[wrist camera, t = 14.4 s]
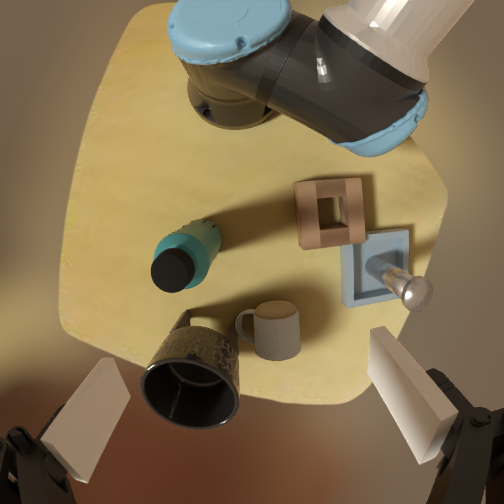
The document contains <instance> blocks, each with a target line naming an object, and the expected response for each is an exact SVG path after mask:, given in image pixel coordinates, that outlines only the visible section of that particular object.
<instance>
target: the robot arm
mask: <svg viewBox="0 0 504 504" xmlns="http://www.w3.org/2000/svg"><path fill="white" fill-rule="evenodd" d="M473 2H474V0H350V1H349V3H347V4H346V5H342V6H337V7H332V8H327V9H326V10H325V11H324V13H323V15H322V17H321V19H320V21H316V20H315V19H312V18H310V17H308V16H305V15H303V14H301V13H299V12H296V11H294V10H291V9H292V7H291V3H290V1H289V0H179V1H178V2H177V4H176V5H175V6H174V8H173V9H172V11H171V13H170V15H169V18H168V23H167V31H168V35H169V38H170V41H171V45H172V50H173V52H174V53H175V55H177V57H178V58H179V59H180V61H181V63H182V65H183V66H184V68H185V70H186V71H187V73H188V75H189V79H188V85H187V90H188V96H189V100H190V102H191V104H192V106H193V108H194V109H195V111H196V112H197V114H198V115H199V116H200V117H201V118H202V119H203V120H205V121H206V122H208V123H209V124H211V125H213V126H216V127H219V128H223V129H229V130H240V129H246V128H250V127H253V126H256V125H258V124H260V123H262V122H263V121H265V120H266V119H268V118H269V117H270V116H271V115H272V114H273V113H274V112H275V110H276V111H278V112H280V113H282V114H284V115H286V116H288V117H290V118H292V119H294V120H296V121H298V122H300V123H301V124H303V125H305V126H307V127H309V128H311V129H313V130H314V131H316V132H318V133H320V134H322V135H323V136H325V137H327V138H328V139H329V141H330V142H332V143H333V144H335V145H338V146H342V147H344V148H346V149H348V150H349V151H351V152H353V153H355V154H357V155H359V156H363V157H376V156H380V155H383V154H385V153H387V152H389V151H391V150H392V149H394V148H395V147H397V146H398V145H400V144H401V143H402V142H403V141H404V140H406V139H407V138H408V137H409V136H410V135H411V134H412V132H413V131H414V130H415V129H416V127H417V121H419V120H420V119H422V118H423V116H424V115H425V112H426V110H427V106H428V94H427V91H426V90H425V87H424V86H425V85H426V83H427V82H428V81H429V80H430V73H429V68H428V63H427V60H428V56H429V54H430V53H431V52H432V51H433V50H434V48H435V47H436V46H437V45H438V43H439V42H440V41H441V40H442V39H443V38H444V36H445V35H446V34H447V33H448V31H449V30H450V29H451V28H452V26H454V24H455V23H456V22H457V21H458V20H459V18H460V17H461V16H462V15H463V14H464V12H465V11H466V10H467V9H468V8H469V6H470V5H471V4H472V3H473ZM367 373H368V375H369V376H370V378H371V380H372V382H373V383H374V385H375V386H376V388H377V390H378V392H379V393H380V395H381V397H382V398H383V400H384V402H385V404H386V405H387V407H388V409H389V411H390V412H391V414H392V416H393V418H394V419H395V421H396V423H397V425H398V426H399V428H400V430H401V432H402V434H403V435H404V437H405V439H406V441H407V443H408V445H409V446H410V448H411V450H412V452H413V454H414V456H415V457H416V459H417V461H418V463H419V464H422V463H424V462H426V461H429V460H431V459H433V458H435V457H436V456H437V454H438V452H439V450H440V449H441V450H442V452H443V453H444V456H443V457H442V459H441V461H440V462H439V464H438V466H437V467H436V468H439V470H438V473H437V476H436V479H435V482H434V485H433V487H432V490H431V493H430V495H429V498H428V500H427V503H426V504H481V501H482V497H483V493H484V489H485V485H486V503H485V504H504V408H502V409H499V410H495V411H492V412H491V411H489V410H488V409H486V408H483V407H476V408H474V407H473V406H472V405H471V403H470V402H469V401H468V400H467V399H466V398H465V397H464V396H463V394H462V393H461V392H460V391H459V390H458V389H457V388H456V387H455V386H454V384H453V383H452V382H451V381H449V379H448V378H447V377H446V376H445V375H444V374H443V373H442V372H440V371H438V370H436V369H434V368H433V369H430V370H428V371H424V370H423V369H422V367H421V366H420V365H419V364H418V363H417V362H416V361H415V359H414V358H413V357H412V356H411V355H410V354H409V353H408V352H407V350H406V349H405V348H404V347H403V346H402V345H401V344H400V343H399V342H398V340H397V339H396V338H395V337H394V336H393V335H392V334H391V333H390V332H389V331H388V329H387V328H386V327H385V326H382V327H378V328H373V329H370V346H369V359H368V370H367ZM130 397H131V396H130V394H129V393H128V390H127V388H126V386H125V384H124V382H123V380H122V377H121V375H120V373H119V370H118V368H117V366H116V364H115V361H114V359H113V358H101V360H100V361H99V362H98V363H97V365H96V366H95V367H94V368H93V370H92V371H91V372H90V373H89V375H88V376H87V377H86V379H85V380H84V381H83V382H82V384H81V385H80V386H79V388H78V389H77V390H76V391H75V393H74V394H73V395H72V397H71V398H70V399H69V401H68V402H67V403H66V404H64V405H62V406H61V407H60V408H58V409H57V410H56V412H55V413H54V414H53V417H51V418H50V420H49V422H47V424H46V425H45V426H44V428H43V429H42V431H41V432H40V433H39V435H38V436H37V437H36V439H35V440H34V439H33V438H32V437H31V435H30V434H29V432H28V431H27V430H26V429H25V428H24V427H22V426H15V427H13V428H11V429H10V430H9V431H8V432H7V434H6V437H5V438H6V440H7V441H8V442H9V443H10V445H11V446H10V445H9V444H8V442H7V441H6V440H5V439H4V438H2V437H0V504H77V503H76V500H75V498H74V495H73V492H72V489H71V485H70V482H69V480H68V478H67V477H66V474H67V472H69V474H70V475H71V476H72V477H73V478H74V479H77V480H79V481H82V482H85V483H88V481H89V479H90V477H91V475H92V473H93V470H94V468H95V466H96V464H97V462H98V460H99V458H100V456H101V454H102V452H103V450H104V448H105V446H106V444H107V442H108V440H109V438H110V436H111V434H112V432H113V430H114V428H115V426H116V424H117V422H118V420H119V418H120V416H121V414H122V412H123V410H124V408H125V406H126V404H127V402H128V401H129V399H130ZM8 474H10V475H11V476H12V477H13V478H14V482H12V481H11V480H10V479H8Z"/></svg>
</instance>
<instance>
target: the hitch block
mask: <svg viewBox="0 0 504 504" xmlns="http://www.w3.org/2000/svg"><path fill="white" fill-rule="evenodd" d="M293 190H294V199H295V208H296V218H297V228H298V239H299V246H300V247H301V248H302V249H303V250H309V249H318V248H326V247H334V246H342V245H350V244H358V243H366V241H365V220H364V205H363V193H362V183H361V178H344V179H328V180H314V181H302V182H295V183H293ZM329 197H339V206H340V219H341V224H338V225H329V226H319V216H318V206H317V199H318V198H329Z"/></svg>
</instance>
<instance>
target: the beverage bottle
mask: <svg viewBox="0 0 504 504" xmlns="http://www.w3.org/2000/svg"><path fill="white" fill-rule="evenodd" d="M191 222H192V221H191ZM178 229H179V228H178ZM220 231H221V230H219V229H218V227H217V226H216V224H214V223H212V222H211V221H208V220H204V219H202V220H201V219H200V220H197V219H196V220H195V221H194V220H193V222H192V223H190V224H188V225H186V226H183V227H182V228H181V229H179V230H177V231H176V232H174V231H173V232H174V233H172V234H170V235H168V236H166V237H165V238H164V239H162V240H161V241H160V243H159V244H158V246H157V248H156V250H155V254H154V261H153V263H152V266H151V276H152V280H153V282H154V283H155V285H156V286H157V287H158V288H159V289H161V290H163V291H165V292H169V293H175V292H179V291H181V290H183V289H189V288H192V287H195V286H197V285H198V284H200V283H201V282H202V281H203V279H204V278H205V277H206V275H207V273H208V270H209V268H210V266H211V264H212V262H213V260H214V258H215V256H216V255H217V253H218V251H219V249H220V247H221V244H222V237H223V236H221V232H220Z"/></svg>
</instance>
